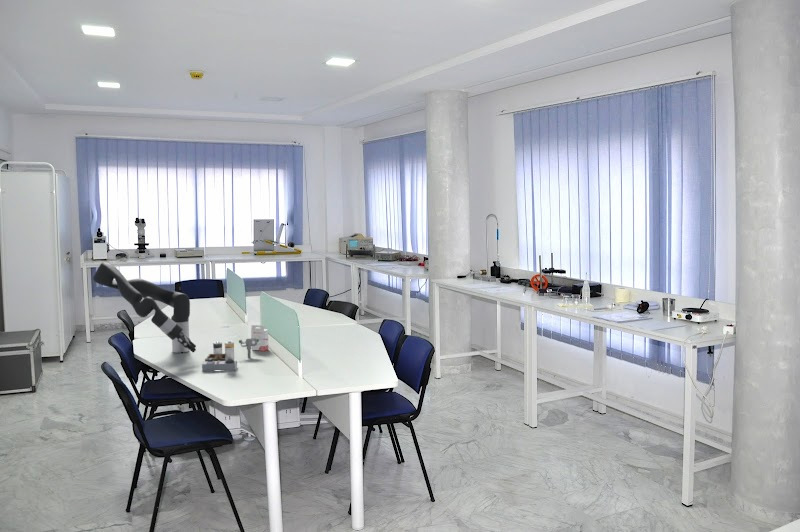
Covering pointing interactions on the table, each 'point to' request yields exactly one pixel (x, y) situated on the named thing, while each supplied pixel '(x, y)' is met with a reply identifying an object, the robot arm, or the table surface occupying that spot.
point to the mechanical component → (249, 344)
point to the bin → (215, 359)
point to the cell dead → (217, 350)
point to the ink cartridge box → (260, 337)
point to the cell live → (229, 352)
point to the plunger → (210, 361)
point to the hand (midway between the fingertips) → (194, 349)
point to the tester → (219, 366)
